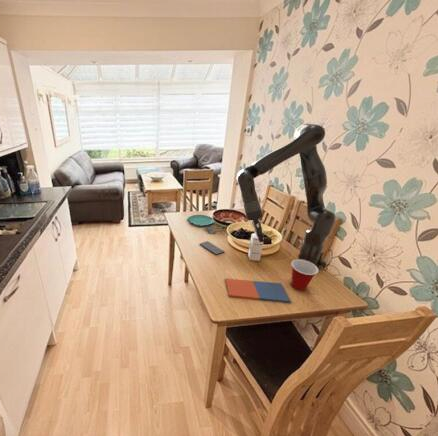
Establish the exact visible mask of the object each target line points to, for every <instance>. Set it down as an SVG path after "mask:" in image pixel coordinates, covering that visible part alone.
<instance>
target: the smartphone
mask: <svg viewBox="0 0 438 436" xmlns="http://www.w3.org/2000/svg"><path fill="white" fill-rule="evenodd" d="M199 245H200V246H201V247H203V248H204V249H205V250H207V251H209V252H210V253H212V254H214V256H218V255H221V254H224V253H225V250H223V249H221V248H220V247H218V246H217V245H215V244H213V243H212V242H210V241H208V240H206V241H204V242H200V243H199Z"/></svg>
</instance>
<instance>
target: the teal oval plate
mask: <svg viewBox="0 0 438 436" xmlns="http://www.w3.org/2000/svg"><path fill="white" fill-rule="evenodd" d="M213 219H214V218H213V217H211V216H208V215H205V214H194V215H189V216H188V217H187V218H186V220H187V221H188V222H189V223H190V224H191V225H195V226H196V227H203V230H205V232H207V234H215V233H216V232H222V231H226V230H227V229H226V228H224V226H218V225H215V224H216V221H215V222H214V221H213ZM212 225H215V226H212ZM207 226H208V227H207ZM218 229H219V230H218Z"/></svg>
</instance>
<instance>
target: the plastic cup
mask: <svg viewBox="0 0 438 436" xmlns="http://www.w3.org/2000/svg"><path fill="white" fill-rule="evenodd" d="M297 259H298V258H297ZM297 259H293V260H291V263H290V265H291V286H292V288H294V289H295V290H298V291H305V290H306V289H307V288H308V286H309V284H310V283H311V281H312V280H313V278H314V277H315V275H317V274H318V273H319V267H318V268H317V266H315V265H314V264H313V263H311V262H309V261H305V260H299V259H298V260H297Z"/></svg>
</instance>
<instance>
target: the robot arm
mask: <svg viewBox="0 0 438 436" xmlns="http://www.w3.org/2000/svg"><path fill="white" fill-rule="evenodd" d="M325 137H326V130H325V128H324V127H323V125H319V124H315V123H303V124H301V125H300V126H298V127H297V128H296V130H295V133H294V140H292V141H290V142H289V143H287V144H286V145H284V146H282V147H279V148H277V149H275V150H272V151H271V152H269V153H266V154H265V155H264V156H262V157H261V158H259V159H258V160H256V161H255V162H253V163H252V164H250V165H249V166H246V167H245V168H243V169H241V170H240V171H239V172H238V173H237V174H236V178H235V179H236V181H237V183H238V186H239V190H240V194H241V195H240V196H241V200H242V204H243V209H244V213H245V216H246V219H247V221H251V225H252V227H253V230H254V232H255V234H257V236H258V239H259V242H263V243H264V242H265V238H264V232H263V227H262V222H261V219H262V218H263V217H264V215H263V210H262V207H261V203H260V201H259V197H258V193H257V190H256V185H255V179H256V178H257V177H259V176H262V175H265V174H266V173H268V172H270V171H271V170H273V169H274V168H275V167H277V166H279V165H281V164H282V163H283V162H286V161H287V160H288V159H291V158H293V157H295V156H296V155H299V161H300V168H301V176H302V183H303V187H304V193H305V197H306V215H307V219H308V220H309V221H310V222H311V223H312V224H313V225H312V228H309V229H306V231H305V234H304V237H303V240H302V243H301V245H300V246H301V247H300V250H299V253H298V255H297V259H296V260H298V259H299V260H305V261H309V262H311V263H313V264H314V265H315V266H317V268H318V269H319V267H321V268H322V269H324V268H326V267H327V263H326V262H325V260H324V259H323V256H324V253H323V250H324V248H325V247H324V246H325V244H326V240H327V238H328V237H329V236H330V234H331V233H332V230H333V227H334V225H335V223H336V215H335V213H334V212H333V211H331V210H330V209H328V208H326V205H325V202H324V193H325V191H326V188H327V186H328V175H327V170H326V167H325V165H324V163H323V160H322V158H321V157H320V155H319V152H318V147H317V146H318V145H320V143H321V142H322V141H323V140H324V139H325Z"/></svg>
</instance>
